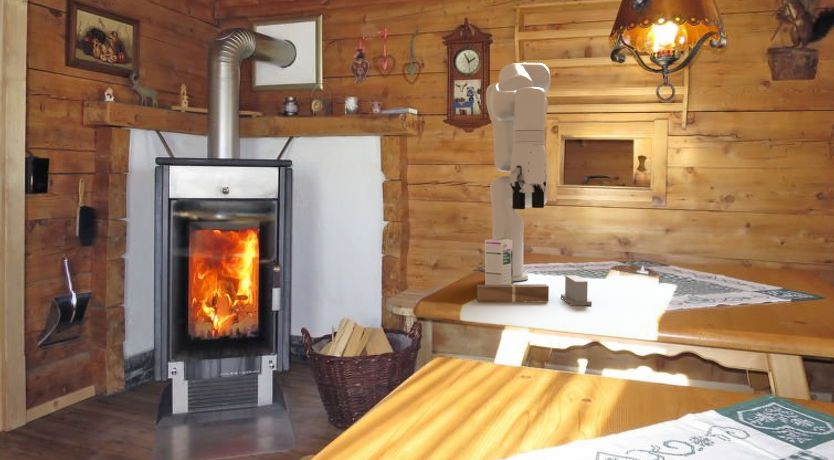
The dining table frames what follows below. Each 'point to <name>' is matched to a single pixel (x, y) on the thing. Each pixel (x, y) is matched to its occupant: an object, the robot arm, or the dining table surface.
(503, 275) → the syrup box
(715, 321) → the dining table surface
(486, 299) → the beam
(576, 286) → the ridge block
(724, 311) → the dining table surface
